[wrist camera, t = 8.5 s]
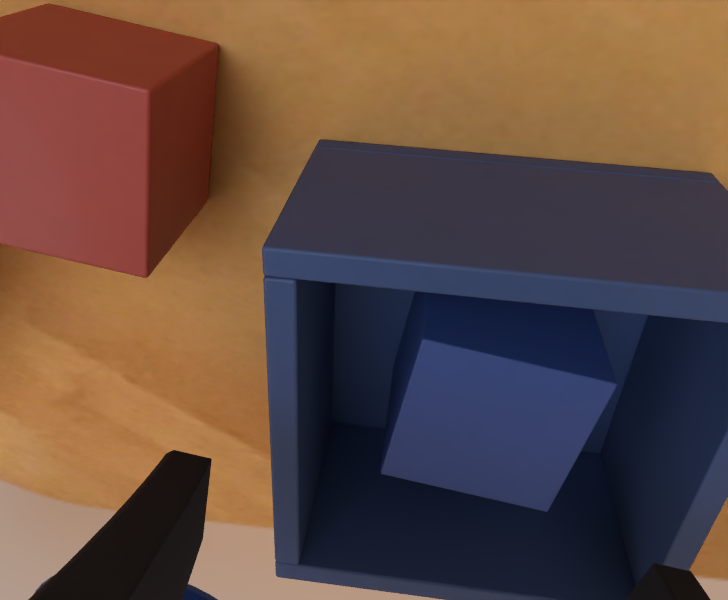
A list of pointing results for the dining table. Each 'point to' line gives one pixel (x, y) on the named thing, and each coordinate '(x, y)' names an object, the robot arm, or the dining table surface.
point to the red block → (102, 136)
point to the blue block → (494, 396)
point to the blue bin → (511, 283)
